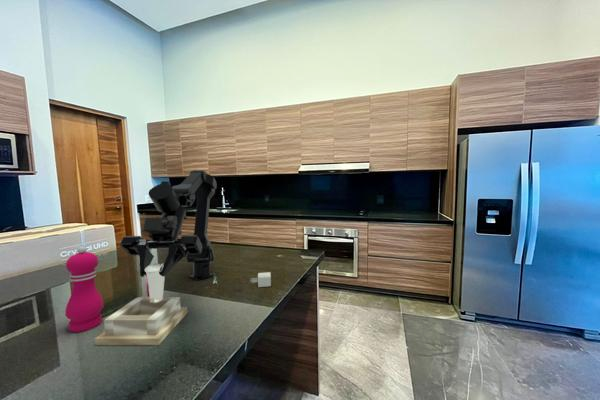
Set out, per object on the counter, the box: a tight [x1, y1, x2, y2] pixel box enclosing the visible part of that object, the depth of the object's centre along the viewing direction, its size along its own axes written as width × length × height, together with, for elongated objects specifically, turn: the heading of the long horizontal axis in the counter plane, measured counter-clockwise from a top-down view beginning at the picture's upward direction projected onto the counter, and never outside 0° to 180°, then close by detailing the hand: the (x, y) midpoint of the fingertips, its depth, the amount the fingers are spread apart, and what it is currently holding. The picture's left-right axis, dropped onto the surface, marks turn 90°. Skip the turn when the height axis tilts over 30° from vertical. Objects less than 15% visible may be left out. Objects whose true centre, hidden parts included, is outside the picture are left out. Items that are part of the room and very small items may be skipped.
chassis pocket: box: [94, 296, 188, 346], centre depth 62 cm, size 14×14×5 cm
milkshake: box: [144, 262, 166, 303], centre depth 61 cm, size 5×5×10 cm
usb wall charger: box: [250, 271, 272, 288], centre depth 87 cm, size 4×7×4 cm, turn 100°
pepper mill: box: [64, 246, 104, 333], centre depth 62 cm, size 7×7×20 cm
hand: (152, 276), depth 60 cm, fingers closed on milkshake, 4 cm apart
